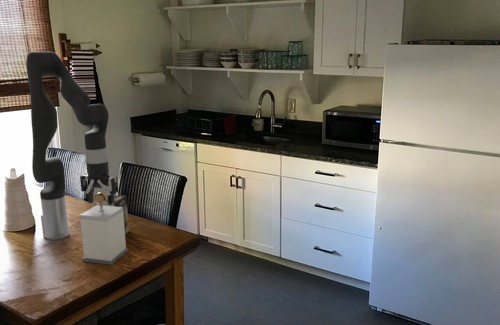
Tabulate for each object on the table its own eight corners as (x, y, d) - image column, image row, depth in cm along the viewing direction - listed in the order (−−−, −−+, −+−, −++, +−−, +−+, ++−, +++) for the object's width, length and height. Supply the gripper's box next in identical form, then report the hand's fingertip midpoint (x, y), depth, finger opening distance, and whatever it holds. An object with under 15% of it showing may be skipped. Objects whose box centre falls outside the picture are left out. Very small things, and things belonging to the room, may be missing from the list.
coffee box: (119, 239, 192) (116, 202, 188) (105, 238, 193) (101, 201, 189) (129, 231, 200) (126, 195, 196) (115, 230, 202) (112, 194, 198)
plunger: (96, 245, 175) (91, 193, 170) (102, 240, 179) (98, 190, 174) (106, 246, 174) (102, 194, 169) (113, 241, 178) (108, 191, 173)
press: (82, 261, 173) (77, 215, 169) (104, 244, 187) (100, 201, 183) (111, 264, 170) (107, 218, 166) (131, 247, 184) (128, 204, 180)
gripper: (73, 161, 166) (77, 205, 171) (109, 164, 163) (113, 208, 167) (85, 156, 173) (89, 198, 178) (120, 158, 170) (123, 201, 174)
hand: (100, 203), depth 172 cm, fingers open, 7 cm apart
